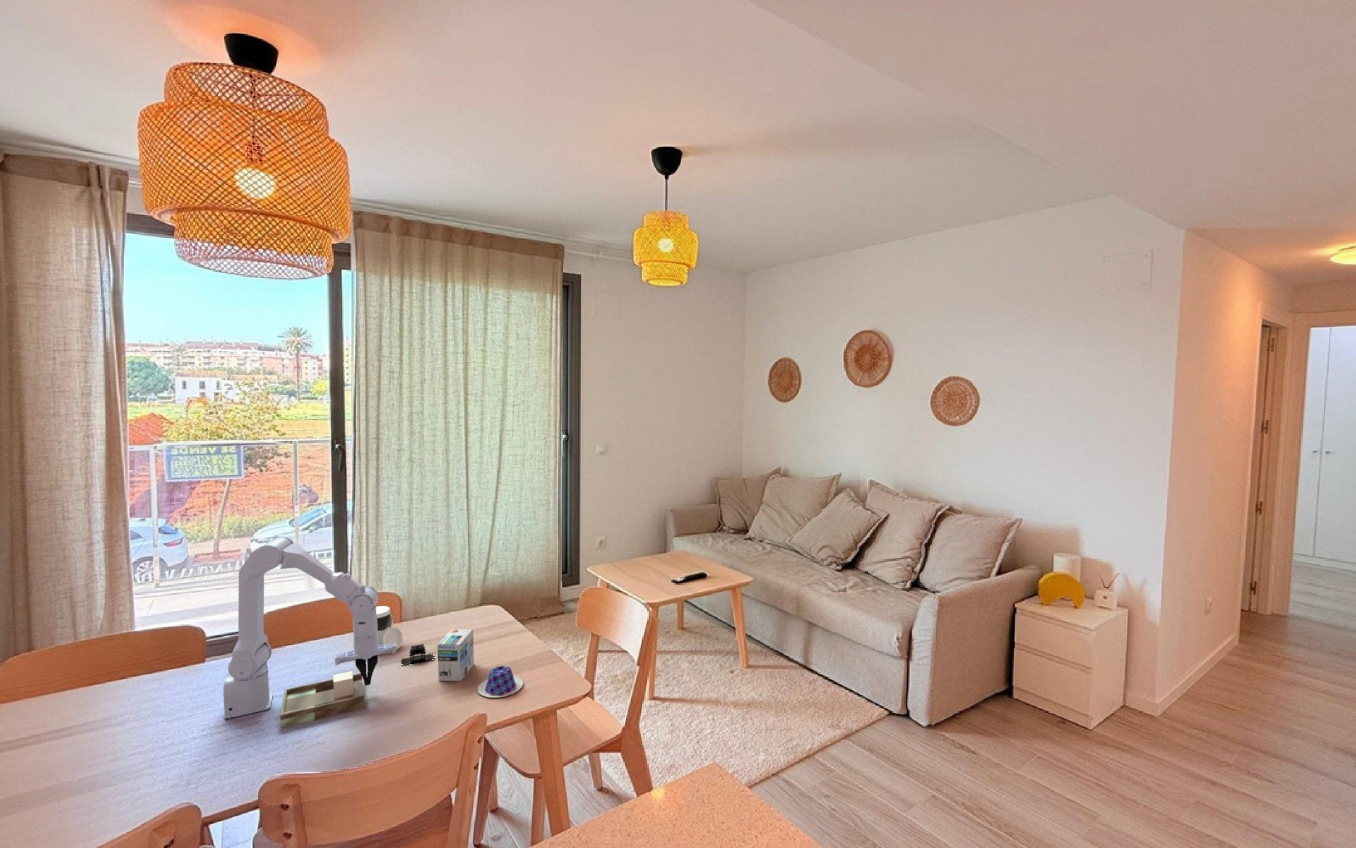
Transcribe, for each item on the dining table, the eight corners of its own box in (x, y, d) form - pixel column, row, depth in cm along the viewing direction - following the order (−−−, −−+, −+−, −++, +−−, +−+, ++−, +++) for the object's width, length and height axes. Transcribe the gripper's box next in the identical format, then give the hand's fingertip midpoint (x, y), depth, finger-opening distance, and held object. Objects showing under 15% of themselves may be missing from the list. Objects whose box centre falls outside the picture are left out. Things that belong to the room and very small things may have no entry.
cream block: (334, 698, 154) (333, 682, 154) (334, 691, 158) (333, 675, 158) (353, 694, 156) (352, 678, 156) (353, 686, 160) (352, 671, 160)
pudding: (492, 675, 171) (491, 658, 171) (530, 680, 169) (530, 662, 168) (469, 697, 159) (468, 678, 159) (510, 702, 157) (509, 683, 156)
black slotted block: (395, 671, 174) (394, 655, 174) (395, 660, 181) (394, 645, 181) (440, 662, 180) (440, 647, 179) (439, 652, 186) (438, 638, 186)
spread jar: (371, 640, 194) (369, 605, 193) (408, 637, 196) (407, 602, 195) (358, 656, 182) (357, 619, 181) (398, 653, 184) (396, 617, 183)
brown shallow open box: (280, 728, 145) (280, 715, 144) (285, 701, 157) (284, 689, 157) (364, 708, 154) (363, 696, 153) (362, 684, 166) (361, 672, 165)
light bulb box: (461, 681, 167) (460, 644, 166) (437, 681, 167) (436, 644, 166) (474, 663, 178) (474, 628, 177) (452, 663, 178) (451, 628, 177)
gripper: (334, 646, 152) (336, 697, 153) (396, 634, 159) (398, 683, 160) (334, 636, 158) (336, 685, 159) (394, 625, 165) (396, 672, 166)
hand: (367, 683), depth 160 cm, fingers closed
